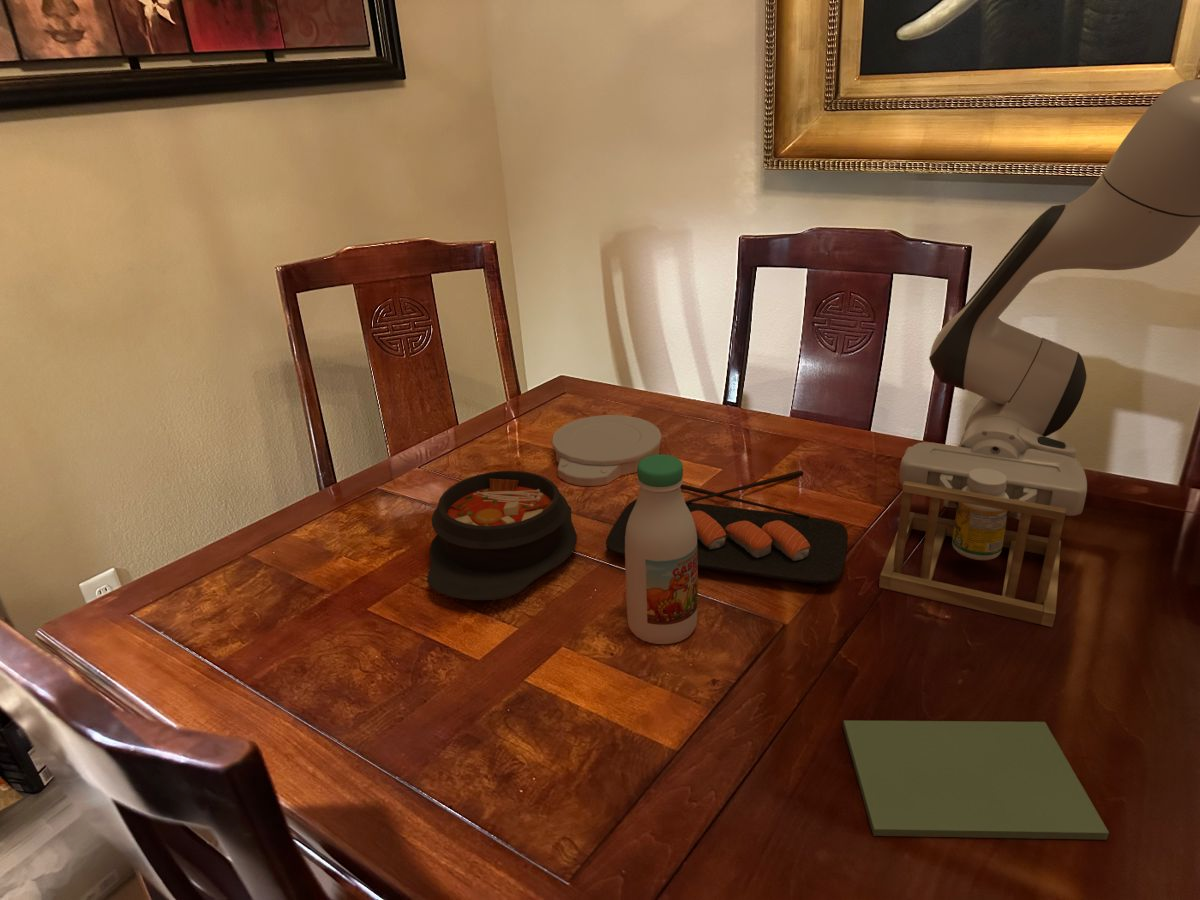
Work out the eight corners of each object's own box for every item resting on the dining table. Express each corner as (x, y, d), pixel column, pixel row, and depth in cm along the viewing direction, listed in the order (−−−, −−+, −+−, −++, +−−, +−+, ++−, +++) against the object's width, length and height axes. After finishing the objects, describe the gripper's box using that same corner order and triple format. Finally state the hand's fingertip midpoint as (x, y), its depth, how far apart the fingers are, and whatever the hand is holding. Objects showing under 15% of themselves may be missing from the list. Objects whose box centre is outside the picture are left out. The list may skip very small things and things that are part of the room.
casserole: (477, 500, 121) (470, 448, 117) (601, 513, 116) (599, 459, 112) (392, 602, 99) (381, 541, 95) (541, 623, 94) (535, 560, 90)
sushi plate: (598, 563, 105) (597, 536, 103) (661, 459, 130) (661, 436, 128) (840, 598, 96) (842, 570, 94) (856, 479, 121) (859, 455, 119)
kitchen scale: (525, 477, 126) (523, 459, 125) (579, 425, 143) (578, 409, 142) (632, 494, 120) (632, 476, 119) (676, 438, 137) (676, 421, 135)
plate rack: (903, 522, 110) (915, 433, 104) (1058, 553, 102) (1079, 458, 97) (878, 587, 97) (890, 490, 92) (1052, 627, 89) (1076, 523, 84)
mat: (1043, 728, 77) (1045, 721, 76) (1107, 840, 66) (1109, 832, 66) (842, 726, 78) (843, 720, 78) (873, 836, 67) (874, 829, 67)
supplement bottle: (1000, 565, 95) (1013, 490, 91) (949, 556, 97) (960, 483, 93) (1001, 541, 99) (1014, 469, 95) (952, 533, 102) (963, 462, 97)
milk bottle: (620, 642, 91) (613, 477, 82) (635, 600, 97) (630, 444, 89) (692, 650, 89) (692, 483, 80) (701, 607, 95) (703, 448, 87)
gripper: (911, 422, 109) (890, 467, 98) (1090, 447, 100) (1089, 499, 89) (906, 466, 112) (885, 514, 101) (1080, 494, 103) (1078, 550, 92)
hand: (982, 507), depth 95 cm, fingers closed on supplement bottle, 5 cm apart
